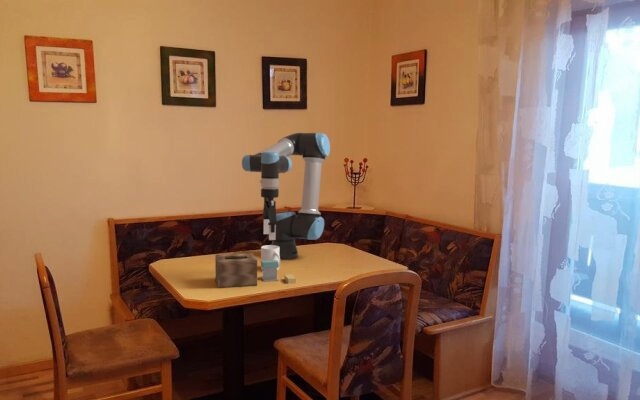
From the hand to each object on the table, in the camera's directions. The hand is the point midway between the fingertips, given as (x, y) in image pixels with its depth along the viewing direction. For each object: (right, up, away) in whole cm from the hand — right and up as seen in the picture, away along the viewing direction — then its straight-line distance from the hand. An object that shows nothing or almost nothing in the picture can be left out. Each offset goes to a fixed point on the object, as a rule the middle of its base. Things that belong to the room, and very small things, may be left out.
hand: (269, 236), depth 224 cm
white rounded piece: (0, -17, +18) cm, 25 cm away
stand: (0, -19, +2) cm, 19 cm away
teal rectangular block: (0, -13, +2) cm, 13 cm away
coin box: (-14, -19, -4) cm, 24 cm away
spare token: (+9, -20, 0) cm, 21 cm away
